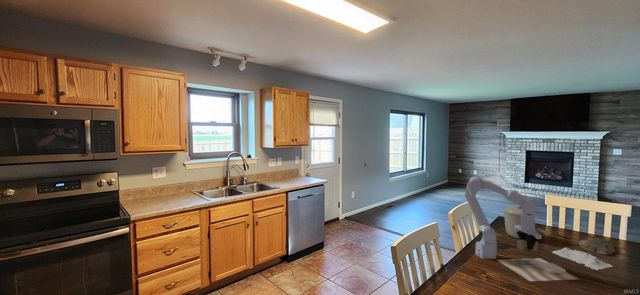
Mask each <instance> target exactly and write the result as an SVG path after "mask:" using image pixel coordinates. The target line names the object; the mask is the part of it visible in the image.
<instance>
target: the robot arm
mask: <svg viewBox="0 0 640 295" xmlns="http://www.w3.org/2000/svg"><path fill="white" fill-rule="evenodd" d="M481 189H482V190H491V191H492V192H495V193H497V194H499V195H501V196H504V198H505V200H507V201H509V202H511V203H513V204H515V205H519V206H522V211H521V226H519V225H515V229H518V230H519V232H517V234H518V236H519V238H518V240H527V248H528V249H529V250H532V249H533V247H534V244H535V243H536V241H537V242H538V240H542V234H540V233H539V232H537V230H536V216H535V212H536V209H537V208H538V205H537V203H536V202H535V200H534V199H533V198H532V197H530V196H528V195H526V194H525V195H524V194H522V193H519V192H518V190H516V189H509V190H508V189H505V188H504V187H501V186H499V185H497V184H496V183H494V182H491V181H490V180H487V179H485V178H482V177H480V176H477V175H474V176H471V177H470V178H469V180H468V181H467V185H466V189H465V193H464V197H465V199H466V200H467V203H468V204H469V206H470V209H471V211H472V213H473V216H474V217H475V219H476V222H477V223H478V226H479V228H480V231H481V233H482V238H481V240H480V241H476V242H475V255H476V256H477V257H479V258H481V259H482V260H484V259H490V260H494V259H497V252H498V251H497V250H498V249H497V248H498V246H497V245H498V242H497V239H498V238H497V236H496V233H497V232H496V230H495V229H494V228H493V227H492V226H491V225H490V222H489V221H488V219H487V216H486V215H485V213H484V211H483V209H482V207H481V205H480V203H479V201H478V198H477V196H476V195H477V193H478V192H479V190H481Z"/></svg>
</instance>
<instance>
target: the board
mask: <svg viewBox="0 0 640 295" xmlns="http://www.w3.org/2000/svg"><path fill="white" fill-rule="evenodd" d="M497 262H499V263H500V264H502V265H503V266H505V267H507V268H509V270H511V271H513V272H514V273H516V274H517V275H519V276H520V277H522V278H524V279H525V280H527V281H528V282H546V281H567V280H568V281H570V280H579V278H578V277H577V276H575V275H573V274H570V273H569V272H567V271H566V273H556V274H549V273H548V272H546V271H544V270H542V269H541V268H539V267H537V264H543V263H549V262H548V261H546V260H545V259H542V258H541V257H540V258H539V257H538V258H537V257H536V258H514V259H512V258H510V259H509V258H508V259H497Z"/></svg>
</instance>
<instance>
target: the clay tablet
mask: <svg viewBox="0 0 640 295" xmlns="http://www.w3.org/2000/svg"><path fill="white" fill-rule="evenodd" d="M578 244H579V247H580V248H582V249H584V250H585V251H588V250H589V251H588V252H591V251H592V253H596V252H597V253H596V254H599V255H602V254H603V255H602V256H610V255H609V254H611V255H613V254H614V253H615V252H616V249H615V245H614V244H613V243H612V242H611V241H610V240H607V239H603V238H598V237H588V238H587V239H581V240H579V242H578ZM612 253H613V254H612Z"/></svg>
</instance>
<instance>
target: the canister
mask: <svg viewBox="0 0 640 295" xmlns="http://www.w3.org/2000/svg"><path fill="white" fill-rule="evenodd" d="M515 205H516V206H507V207H504V208H502V211H503V215H504V216H503V217H504V224H505V232H506V233H507V235H508V236H509V237H513V238H515V239H519V236H518V234H517V232H519V230H518V229H515V225H519V226H521V211H522V206H519V205H517V204H515ZM537 215H538V213H537V212H536V211H535V217H536V216H537Z"/></svg>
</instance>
